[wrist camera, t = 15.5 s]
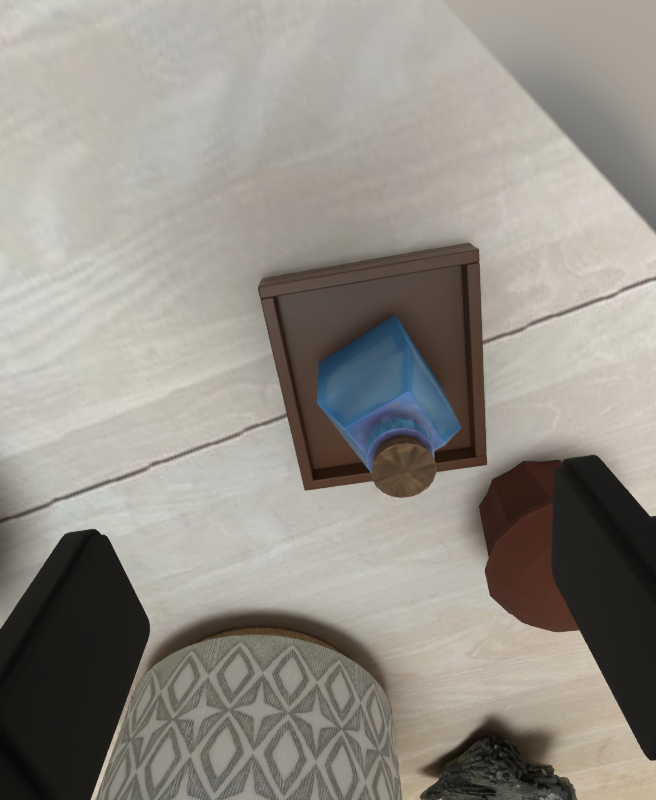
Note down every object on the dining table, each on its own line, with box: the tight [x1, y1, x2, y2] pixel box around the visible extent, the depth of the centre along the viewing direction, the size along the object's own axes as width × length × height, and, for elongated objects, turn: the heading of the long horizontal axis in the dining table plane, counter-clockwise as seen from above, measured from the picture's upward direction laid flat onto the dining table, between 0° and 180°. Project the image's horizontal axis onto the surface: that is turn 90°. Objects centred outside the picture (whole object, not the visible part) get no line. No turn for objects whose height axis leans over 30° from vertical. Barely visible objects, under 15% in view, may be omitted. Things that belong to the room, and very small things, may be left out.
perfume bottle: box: [317, 314, 461, 498], centre depth 30 cm, size 6×6×12 cm
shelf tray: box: [258, 243, 487, 490], centre depth 35 cm, size 16×14×2 cm
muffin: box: [479, 460, 579, 632], centre depth 37 cm, size 12×11×10 cm
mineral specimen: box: [420, 733, 577, 800], centre depth 53 cm, size 15×13×10 cm
